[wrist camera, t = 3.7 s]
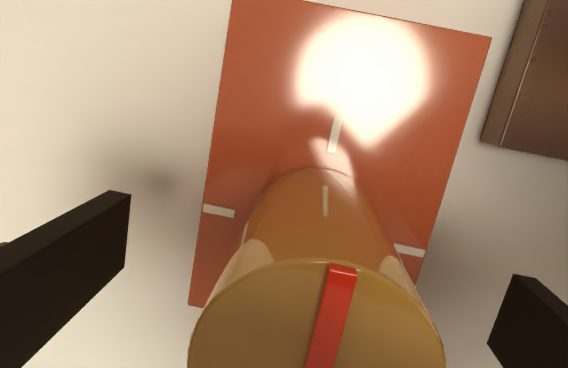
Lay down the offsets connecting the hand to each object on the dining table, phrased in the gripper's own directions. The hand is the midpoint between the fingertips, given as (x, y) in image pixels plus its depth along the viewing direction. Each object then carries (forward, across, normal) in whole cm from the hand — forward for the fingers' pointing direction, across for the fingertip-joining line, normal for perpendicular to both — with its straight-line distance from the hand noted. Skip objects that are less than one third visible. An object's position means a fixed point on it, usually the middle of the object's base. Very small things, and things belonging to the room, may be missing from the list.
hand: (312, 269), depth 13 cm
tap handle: (+4, 0, 0) cm, 4 cm away
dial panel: (+7, 0, -2) cm, 7 cm away
